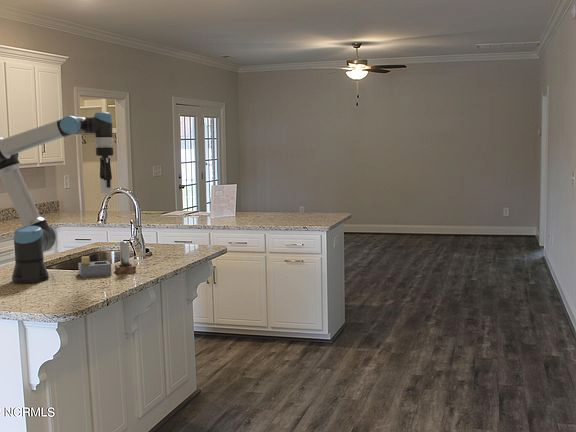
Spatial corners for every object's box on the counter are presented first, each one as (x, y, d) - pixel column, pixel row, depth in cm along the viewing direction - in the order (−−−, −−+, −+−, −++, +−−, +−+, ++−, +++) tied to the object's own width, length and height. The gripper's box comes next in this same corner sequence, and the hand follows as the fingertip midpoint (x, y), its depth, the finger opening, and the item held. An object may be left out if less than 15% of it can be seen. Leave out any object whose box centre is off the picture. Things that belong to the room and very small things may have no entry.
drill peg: (121, 273, 304) (120, 242, 303) (120, 271, 308) (119, 241, 306) (130, 272, 306) (129, 241, 304) (129, 270, 310) (128, 240, 308)
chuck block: (81, 280, 295) (80, 266, 294) (78, 276, 304) (78, 262, 303) (111, 277, 300) (111, 264, 299) (108, 273, 309) (107, 260, 308)
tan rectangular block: (83, 273, 298) (82, 257, 297) (82, 272, 301) (81, 256, 300) (90, 272, 299) (89, 257, 298) (89, 271, 302) (88, 256, 301)
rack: (117, 276, 301) (116, 267, 301) (114, 273, 309) (113, 264, 309) (137, 275, 305) (137, 266, 304) (133, 271, 313) (133, 263, 312)
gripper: (117, 146, 293) (119, 195, 295) (108, 146, 316) (110, 191, 318) (99, 147, 290) (101, 196, 292) (92, 147, 313) (94, 192, 315)
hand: (106, 194), depth 305 cm, fingers open, 13 cm apart
